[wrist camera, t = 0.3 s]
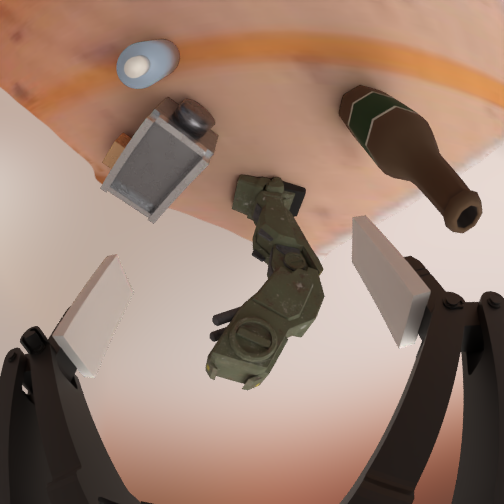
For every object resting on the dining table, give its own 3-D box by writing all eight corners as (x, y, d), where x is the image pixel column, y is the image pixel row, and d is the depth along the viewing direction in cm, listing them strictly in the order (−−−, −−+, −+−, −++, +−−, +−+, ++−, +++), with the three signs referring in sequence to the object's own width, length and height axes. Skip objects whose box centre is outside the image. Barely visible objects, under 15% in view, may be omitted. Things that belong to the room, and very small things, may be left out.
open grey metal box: (165, 77, 29) (145, 90, 23) (228, 125, 34) (223, 149, 29) (109, 155, 36) (87, 183, 31) (164, 193, 42) (151, 225, 36)
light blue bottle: (156, 31, 24) (131, 33, 18) (188, 54, 27) (171, 60, 21) (131, 63, 27) (101, 75, 21) (161, 85, 29) (139, 101, 24)
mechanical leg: (331, 190, 41) (323, 385, 19) (315, 225, 46) (292, 406, 24) (245, 162, 41) (151, 332, 19) (236, 200, 46) (158, 365, 24)
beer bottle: (397, 104, 31) (512, 206, 14) (367, 143, 36) (454, 266, 19) (356, 72, 28) (480, 151, 11) (326, 116, 33) (407, 234, 16)
